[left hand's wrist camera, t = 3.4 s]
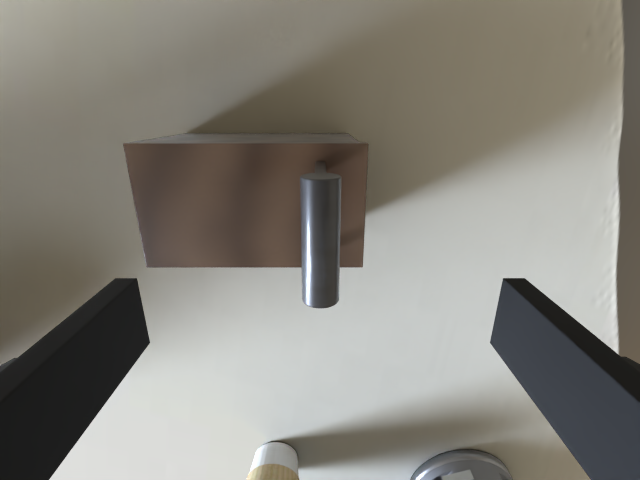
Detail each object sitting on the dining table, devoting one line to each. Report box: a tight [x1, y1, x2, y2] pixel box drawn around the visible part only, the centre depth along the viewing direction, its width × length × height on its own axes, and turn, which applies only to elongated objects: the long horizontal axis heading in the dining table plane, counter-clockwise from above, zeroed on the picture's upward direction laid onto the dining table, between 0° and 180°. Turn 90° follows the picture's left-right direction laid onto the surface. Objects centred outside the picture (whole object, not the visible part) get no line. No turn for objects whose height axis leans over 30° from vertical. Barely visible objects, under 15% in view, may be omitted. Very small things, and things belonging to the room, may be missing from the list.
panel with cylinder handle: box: [123, 142, 368, 308], centre depth 22 cm, size 17×10×9 cm, turn 90°
